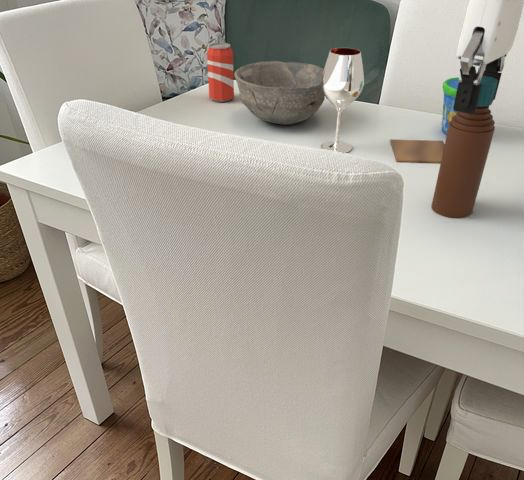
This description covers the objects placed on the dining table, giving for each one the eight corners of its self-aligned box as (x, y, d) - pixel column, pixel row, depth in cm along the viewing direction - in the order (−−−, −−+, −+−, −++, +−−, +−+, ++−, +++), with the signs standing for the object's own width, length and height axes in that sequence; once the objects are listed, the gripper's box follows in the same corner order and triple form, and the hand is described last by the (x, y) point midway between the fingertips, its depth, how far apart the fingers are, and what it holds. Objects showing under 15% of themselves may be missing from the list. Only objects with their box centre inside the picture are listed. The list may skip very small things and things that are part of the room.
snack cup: (493, 147, 118) (507, 96, 111) (441, 146, 118) (452, 95, 111) (474, 121, 129) (486, 73, 123) (428, 120, 130) (437, 72, 123)
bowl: (266, 143, 119) (267, 92, 112) (218, 114, 132) (216, 68, 125) (344, 124, 127) (349, 77, 121) (291, 100, 140) (293, 55, 134)
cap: (457, 99, 86) (462, 76, 84) (481, 97, 87) (487, 74, 85) (473, 108, 83) (478, 84, 81) (497, 105, 84) (503, 82, 82)
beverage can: (238, 97, 142) (237, 44, 134) (224, 104, 138) (222, 49, 130) (218, 93, 144) (216, 40, 136) (204, 100, 140) (201, 46, 132)
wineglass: (317, 139, 120) (323, 45, 109) (355, 141, 120) (366, 46, 108) (315, 154, 114) (322, 56, 103) (356, 156, 114) (368, 57, 102)
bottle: (460, 198, 100) (491, 76, 87) (480, 216, 95) (515, 89, 82) (424, 201, 99) (450, 78, 86) (442, 220, 94) (472, 91, 81)
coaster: (442, 142, 120) (443, 140, 119) (453, 163, 111) (453, 161, 111) (390, 141, 120) (390, 139, 120) (396, 161, 112) (396, 160, 111)
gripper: (503, -45, 81) (472, 87, 93) (453, -33, 71) (425, 115, 82) (557, -41, 78) (518, 96, 89) (512, -27, 67) (475, 126, 79)
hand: (474, 104), depth 86 cm, fingers open, 7 cm apart
